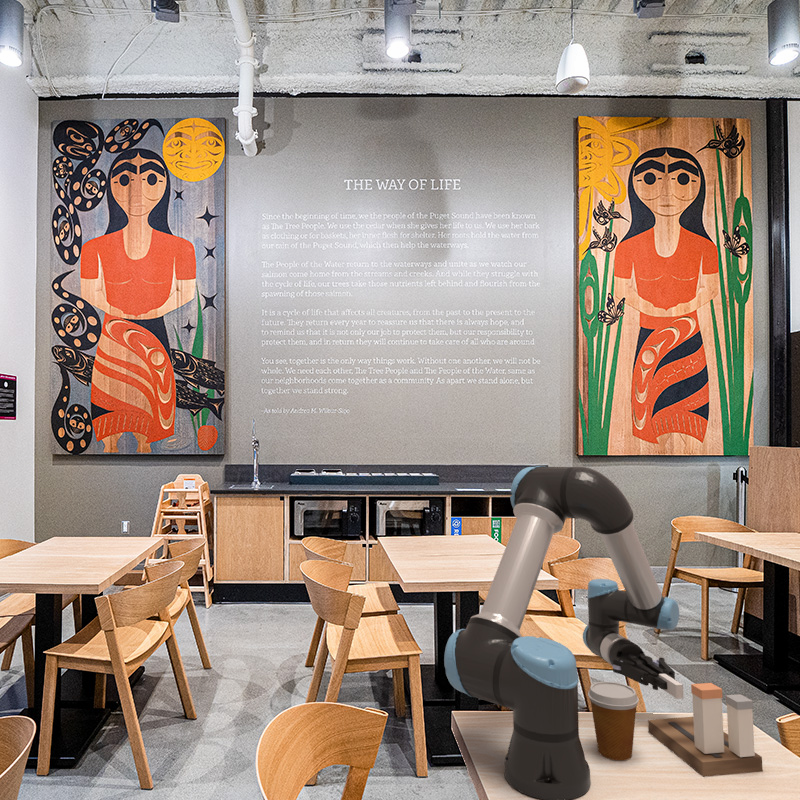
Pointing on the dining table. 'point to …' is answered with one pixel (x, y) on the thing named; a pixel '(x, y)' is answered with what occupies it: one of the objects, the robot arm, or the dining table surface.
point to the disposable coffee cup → (614, 718)
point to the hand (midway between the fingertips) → (679, 691)
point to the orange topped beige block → (708, 718)
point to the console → (681, 742)
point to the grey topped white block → (740, 725)
